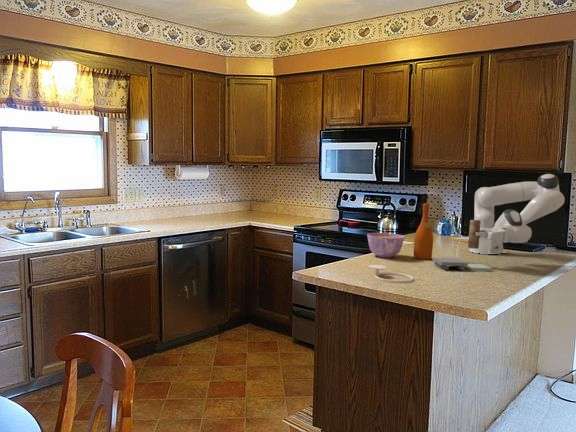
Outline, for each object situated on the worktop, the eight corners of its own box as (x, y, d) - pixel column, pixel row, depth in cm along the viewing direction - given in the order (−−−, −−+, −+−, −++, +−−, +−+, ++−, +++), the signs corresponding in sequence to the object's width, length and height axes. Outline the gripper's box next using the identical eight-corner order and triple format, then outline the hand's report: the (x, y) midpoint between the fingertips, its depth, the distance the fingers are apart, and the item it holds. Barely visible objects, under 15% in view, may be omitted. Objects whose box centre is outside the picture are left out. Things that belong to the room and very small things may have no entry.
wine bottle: (411, 258, 265) (414, 203, 262) (415, 256, 274) (419, 202, 271) (429, 260, 260) (433, 204, 257) (433, 258, 269) (437, 203, 266)
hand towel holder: (407, 275, 203) (361, 268, 214) (406, 285, 204) (360, 278, 215) (419, 268, 218) (375, 262, 228) (418, 278, 218) (375, 271, 229)
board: (482, 266, 249) (482, 264, 249) (491, 271, 239) (491, 268, 239) (462, 266, 249) (463, 263, 249) (471, 270, 239) (471, 267, 239)
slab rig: (456, 265, 250) (457, 257, 250) (467, 271, 237) (468, 263, 237) (431, 265, 249) (432, 257, 249) (441, 270, 236) (441, 262, 236)
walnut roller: (473, 246, 253) (475, 219, 252) (480, 248, 249) (482, 220, 247) (465, 247, 251) (467, 219, 250) (473, 248, 246) (475, 221, 245)
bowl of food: (393, 261, 255) (394, 239, 253) (359, 256, 267) (360, 234, 265) (409, 256, 271) (410, 235, 269) (376, 251, 283) (377, 231, 281)
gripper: (489, 225, 260) (464, 224, 259) (509, 230, 240) (482, 229, 239) (488, 236, 261) (463, 236, 260) (508, 243, 240) (481, 242, 239)
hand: (472, 233), depth 249 cm, fingers closed on walnut roller, 5 cm apart
